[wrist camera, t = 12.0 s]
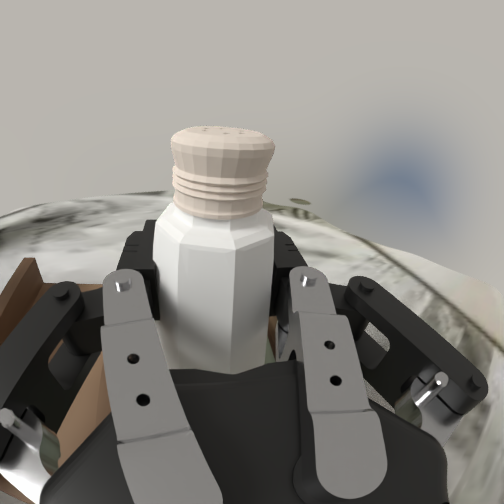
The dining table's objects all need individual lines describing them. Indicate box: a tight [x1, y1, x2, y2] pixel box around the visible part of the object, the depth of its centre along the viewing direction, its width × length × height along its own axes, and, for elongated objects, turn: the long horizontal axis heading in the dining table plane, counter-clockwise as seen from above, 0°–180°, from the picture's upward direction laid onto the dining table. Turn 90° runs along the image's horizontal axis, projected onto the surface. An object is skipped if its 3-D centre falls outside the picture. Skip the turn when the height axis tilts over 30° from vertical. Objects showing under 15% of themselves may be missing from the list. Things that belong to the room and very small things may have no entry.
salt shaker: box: [153, 126, 275, 374], centre depth 10 cm, size 5×5×11 cm
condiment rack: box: [0, 258, 278, 504], centre depth 12 cm, size 20×17×4 cm
